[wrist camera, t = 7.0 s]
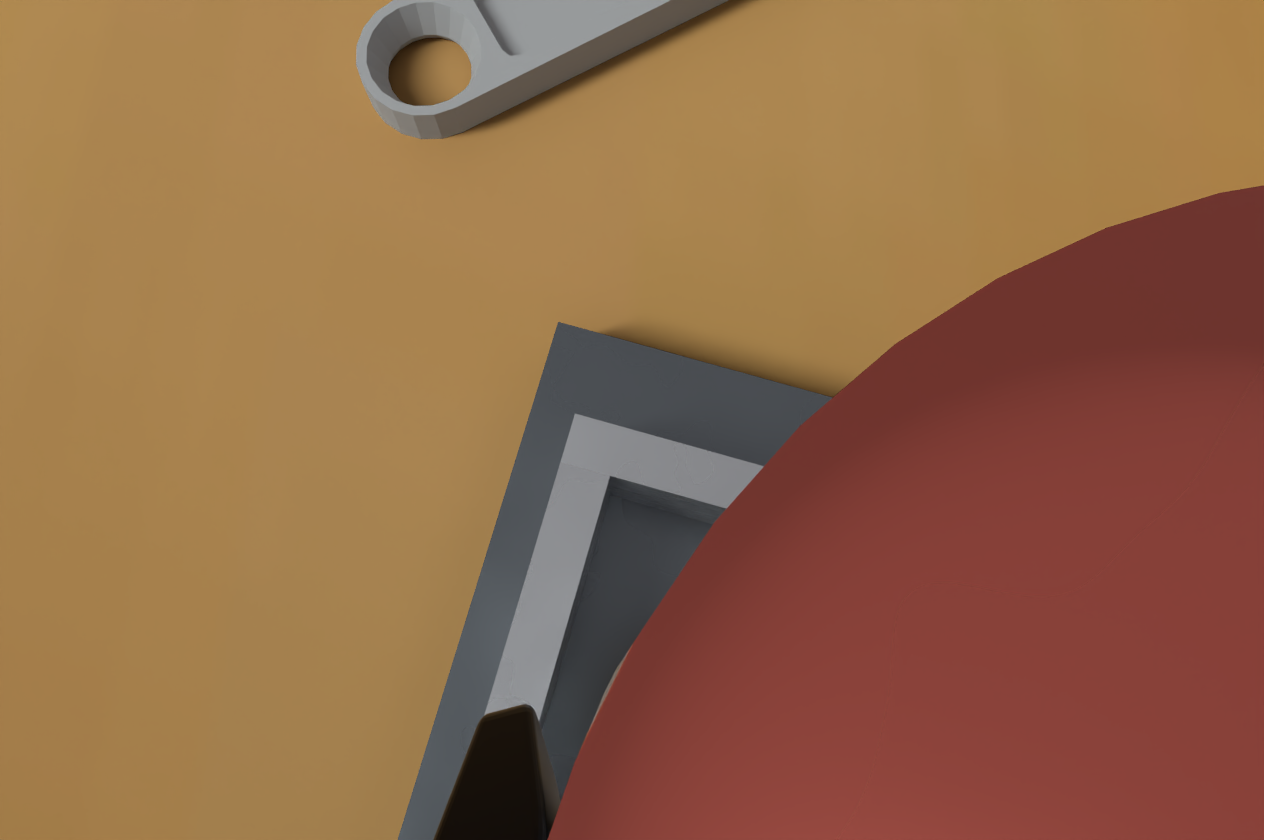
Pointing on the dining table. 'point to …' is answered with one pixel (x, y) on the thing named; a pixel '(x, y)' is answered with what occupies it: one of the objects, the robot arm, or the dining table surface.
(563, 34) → the adjustable wrench
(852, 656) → the silver and red cylinder
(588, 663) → the fitting board
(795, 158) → the dining table surface
